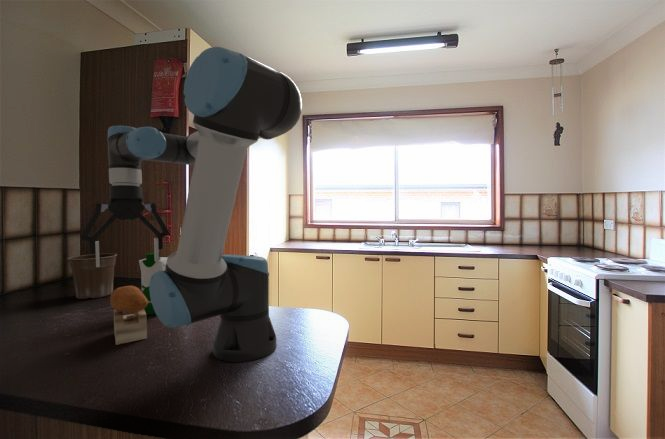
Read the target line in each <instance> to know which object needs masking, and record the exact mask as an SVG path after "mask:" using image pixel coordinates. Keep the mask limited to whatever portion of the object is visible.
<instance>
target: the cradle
mask: <svg viewBox="0 0 665 439" xmlns="http://www.w3.org/2000/svg"><path fill="white" fill-rule="evenodd" d="M147 317H148V316H147V314H146V312H145V310H144V309H143V310H141V311H139V312H135V313H129V314H125V315H124V314H123V312H121V311H116V310H115V309H113V329H114V330H113V332H114V340H115V345H116V346H117V345H122V344H127V343H131V342H135V341H140V340H146V339H148V329H147V328H148V326H147V325H148V323H147V322H148V320H147Z"/></svg>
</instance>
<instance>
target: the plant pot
mask: <svg viewBox="0 0 665 439" xmlns="http://www.w3.org/2000/svg"><path fill="white" fill-rule="evenodd" d="M117 256H118V254H117V253H99V260H100V267H96V254H91V253H90V254H83V255H76V256H70V257H68V258H67V261H68V262H69V267H70V269H71V273H72V280H73V284H74V285H73V286H74V291H75V293H74V294H75V298H76V299H78V300H88V299H89V298H90V299H97V298H105V297H107V296H111V294H112V292H113V291H114V280H115V279H114V278H115V277H114V276H115V266H116V263H117V262H116V259H117Z"/></svg>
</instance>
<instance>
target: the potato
mask: <svg viewBox="0 0 665 439" xmlns="http://www.w3.org/2000/svg"><path fill="white" fill-rule="evenodd" d="M109 296H110V298H109V302H110V306H111V307H112V308H113V310H116V311H121V312H122V313H125V314H135V312H139V311H141V310H143V309H144V308H145V307H146V306H147V304H148V300H147V298H146V297H145V295H144V294H143V293H142V290H141V289H140V288H139V287H137V286H135V285H125V286H120V287H117V288H116V289H113V292H112V293H111V294H110V295H109Z"/></svg>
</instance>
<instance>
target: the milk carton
mask: <svg viewBox="0 0 665 439" xmlns="http://www.w3.org/2000/svg"><path fill="white" fill-rule="evenodd" d="M160 255H161V254H160V252H159V262H155V258H154V252H149V253H147V252H146V253H145V258H143V259H139V260H138V263H139V268H140V273H141V278H140V280H141V292H142V293H143V294H144V295H145V297H146V298H147V300H148V304H147V306H146V307H145V308H144V310H145V312H146V315H156V313H155V311H154V308H153V305H152V302H151V298H150V291H149V284H150V279H151V276H152V275H153V274H154V273H156V272H158V271H164V270H165V268H166V263H167V258H168V257H169V256H167V257H166V256H165V257H162V256H160Z"/></svg>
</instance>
